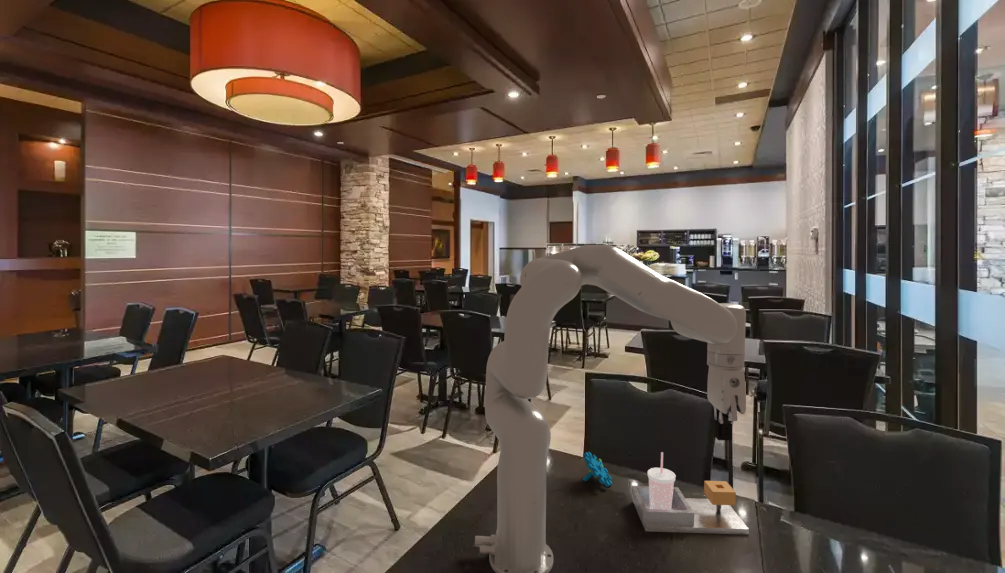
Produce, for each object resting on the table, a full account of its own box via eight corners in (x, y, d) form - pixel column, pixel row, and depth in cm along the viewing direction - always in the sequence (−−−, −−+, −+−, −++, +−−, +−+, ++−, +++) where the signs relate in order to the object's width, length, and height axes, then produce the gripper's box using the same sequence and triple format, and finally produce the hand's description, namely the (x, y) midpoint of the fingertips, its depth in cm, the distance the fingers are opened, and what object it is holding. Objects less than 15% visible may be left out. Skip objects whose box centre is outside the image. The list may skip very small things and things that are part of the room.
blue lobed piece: (611, 489, 116) (584, 456, 119) (594, 503, 117) (567, 470, 120) (616, 475, 126) (591, 444, 129) (600, 488, 128) (575, 457, 130)
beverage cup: (642, 504, 110) (643, 447, 109) (666, 503, 110) (668, 446, 109) (653, 519, 104) (655, 459, 102) (679, 518, 104) (681, 457, 103)
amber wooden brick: (712, 504, 104) (712, 491, 104) (703, 493, 109) (704, 480, 109) (735, 505, 104) (735, 492, 103) (725, 493, 109) (726, 481, 108)
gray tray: (643, 531, 101) (643, 512, 101) (630, 501, 113) (631, 484, 113) (748, 534, 100) (749, 515, 100) (725, 504, 112) (725, 486, 112)
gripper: (759, 367, 96) (756, 453, 98) (728, 351, 111) (725, 426, 112) (722, 367, 96) (719, 453, 98) (696, 351, 111) (694, 426, 113)
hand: (723, 438), depth 105 cm, fingers closed
